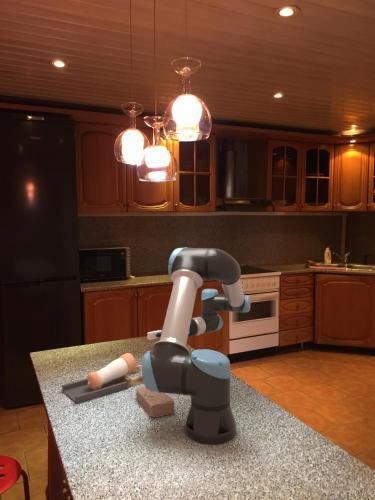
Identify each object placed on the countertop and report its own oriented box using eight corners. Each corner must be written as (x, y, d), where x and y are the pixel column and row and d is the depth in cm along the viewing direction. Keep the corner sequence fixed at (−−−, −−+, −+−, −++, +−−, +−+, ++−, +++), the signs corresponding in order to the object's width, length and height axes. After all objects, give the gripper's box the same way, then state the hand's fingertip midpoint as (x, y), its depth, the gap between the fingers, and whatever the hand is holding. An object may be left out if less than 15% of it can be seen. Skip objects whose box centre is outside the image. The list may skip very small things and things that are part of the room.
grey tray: (111, 377, 158) (111, 372, 158) (127, 388, 148) (127, 382, 148) (62, 391, 146) (62, 385, 146) (76, 404, 136) (76, 397, 136)
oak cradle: (138, 371, 165) (137, 364, 165) (153, 379, 157) (153, 372, 156) (113, 378, 158) (112, 370, 158) (127, 387, 149) (127, 379, 149)
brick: (135, 398, 141) (135, 385, 140) (157, 394, 144) (157, 381, 144) (151, 420, 126) (151, 406, 125) (175, 414, 129) (175, 400, 129)
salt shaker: (138, 371, 154) (96, 395, 141) (128, 369, 159) (86, 392, 147) (133, 353, 153) (90, 376, 141) (123, 351, 159) (80, 373, 146)
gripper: (202, 338, 171) (157, 349, 156) (183, 332, 181) (139, 341, 166) (202, 321, 170) (157, 330, 155) (183, 315, 180) (139, 324, 166)
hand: (148, 336), depth 161 cm, fingers closed
